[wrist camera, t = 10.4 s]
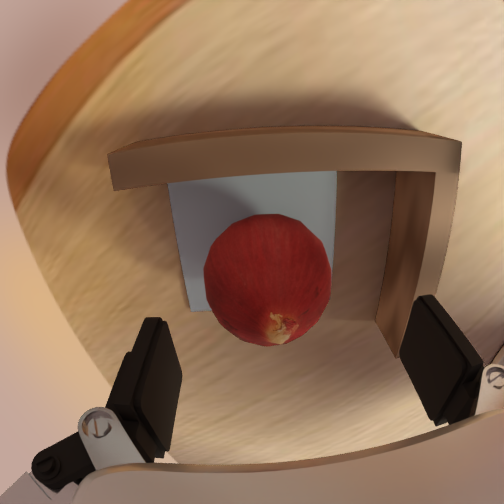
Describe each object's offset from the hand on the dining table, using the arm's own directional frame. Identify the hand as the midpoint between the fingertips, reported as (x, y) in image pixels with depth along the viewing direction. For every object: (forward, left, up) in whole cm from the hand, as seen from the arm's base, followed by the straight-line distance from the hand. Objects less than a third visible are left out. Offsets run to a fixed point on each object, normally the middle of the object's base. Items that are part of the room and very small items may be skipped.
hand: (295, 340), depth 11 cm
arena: (0, -1, -8) cm, 8 cm away
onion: (0, +1, -8) cm, 8 cm away
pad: (0, +1, -8) cm, 8 cm away
